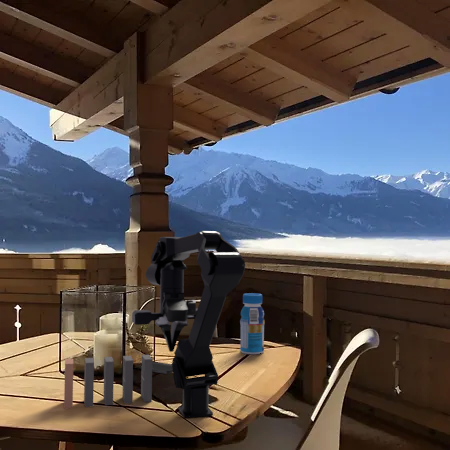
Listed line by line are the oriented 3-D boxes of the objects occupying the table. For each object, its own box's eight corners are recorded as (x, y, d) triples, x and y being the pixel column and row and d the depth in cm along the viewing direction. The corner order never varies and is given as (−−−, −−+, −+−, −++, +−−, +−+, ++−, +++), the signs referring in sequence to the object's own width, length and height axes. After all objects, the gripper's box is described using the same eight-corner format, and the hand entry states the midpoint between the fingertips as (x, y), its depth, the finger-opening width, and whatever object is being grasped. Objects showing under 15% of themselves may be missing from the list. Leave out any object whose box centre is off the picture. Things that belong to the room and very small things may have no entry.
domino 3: (111, 398, 124) (111, 356, 125) (113, 404, 120) (113, 361, 120) (103, 398, 124) (104, 357, 124) (105, 405, 119) (105, 361, 119)
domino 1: (72, 401, 122) (73, 358, 122) (72, 408, 117) (73, 363, 117) (64, 402, 121) (65, 359, 121) (64, 408, 116) (65, 364, 117)
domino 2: (91, 399, 123) (92, 357, 123) (93, 406, 118) (94, 362, 118) (84, 400, 122) (84, 358, 123) (85, 406, 118) (85, 363, 118)
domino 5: (148, 395, 127) (149, 354, 127) (151, 401, 122) (152, 359, 123) (140, 395, 126) (141, 355, 127) (144, 402, 122) (144, 359, 122)
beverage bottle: (235, 352, 176) (235, 294, 177) (248, 348, 183) (248, 292, 184) (256, 356, 171) (256, 296, 172) (268, 351, 178) (269, 294, 179)
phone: (142, 359, 161) (182, 365, 154) (142, 363, 161) (182, 369, 154) (126, 365, 154) (167, 371, 147) (126, 368, 154) (167, 375, 147)
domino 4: (129, 396, 126) (130, 355, 126) (132, 403, 121) (133, 360, 121) (122, 397, 125) (123, 356, 125) (124, 403, 120) (125, 360, 121)
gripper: (138, 291, 116) (137, 360, 116) (217, 289, 122) (217, 356, 121) (132, 287, 127) (131, 351, 126) (205, 286, 133) (204, 347, 132)
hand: (171, 351), depth 126 cm, fingers closed
